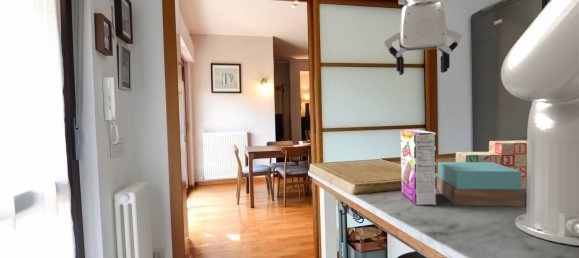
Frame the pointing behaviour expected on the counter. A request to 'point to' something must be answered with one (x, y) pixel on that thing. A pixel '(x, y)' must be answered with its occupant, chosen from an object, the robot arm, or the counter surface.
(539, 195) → the robot arm
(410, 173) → the candy bar box
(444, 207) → the counter surface
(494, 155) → the stack of blocks
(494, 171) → the teal top slab
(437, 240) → the counter surface
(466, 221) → the counter surface
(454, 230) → the counter surface
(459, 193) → the walnut base slab
